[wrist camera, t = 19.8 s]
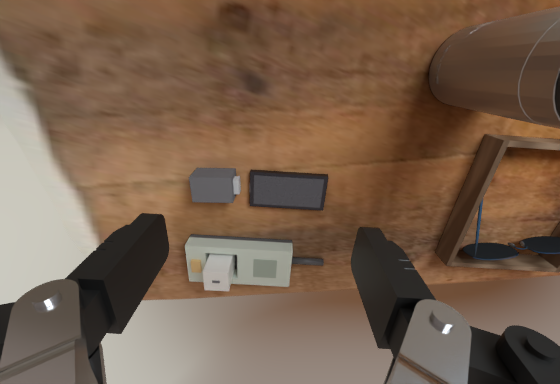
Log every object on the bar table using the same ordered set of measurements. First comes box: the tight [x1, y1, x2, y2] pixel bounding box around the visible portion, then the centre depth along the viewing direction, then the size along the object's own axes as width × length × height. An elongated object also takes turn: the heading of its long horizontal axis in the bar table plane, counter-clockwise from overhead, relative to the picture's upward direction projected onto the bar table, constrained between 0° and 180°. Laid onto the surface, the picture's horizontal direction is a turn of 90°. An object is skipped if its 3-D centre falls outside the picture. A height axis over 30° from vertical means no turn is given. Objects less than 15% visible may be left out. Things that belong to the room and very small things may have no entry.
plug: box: [189, 168, 241, 203], centre depth 38 cm, size 7×4×4 cm, turn 89°
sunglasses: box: [463, 199, 560, 260], centre depth 40 cm, size 17×15×5 cm
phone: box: [250, 170, 328, 210], centre depth 40 cm, size 12×6×1 cm, turn 86°
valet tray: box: [435, 134, 560, 272], centre depth 40 cm, size 20×22×4 cm
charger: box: [203, 253, 235, 291], centre depth 43 cm, size 4×4×6 cm
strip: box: [185, 234, 324, 287], centre depth 45 cm, size 24×8×4 cm, turn 86°
